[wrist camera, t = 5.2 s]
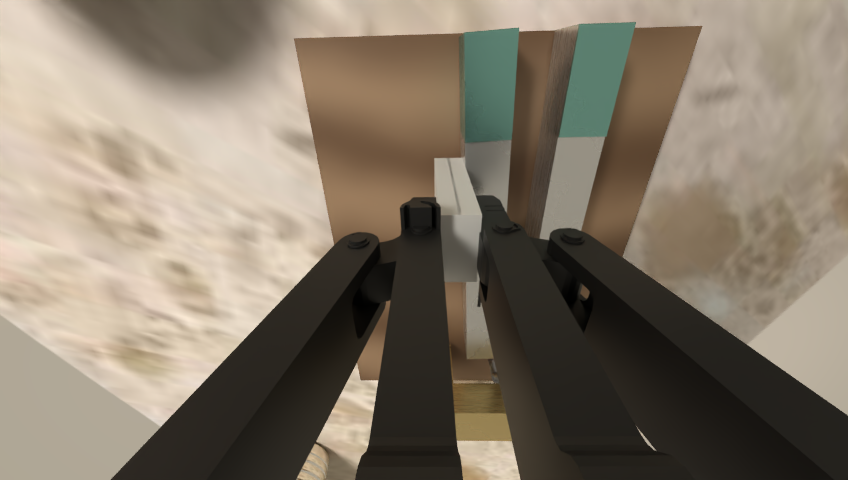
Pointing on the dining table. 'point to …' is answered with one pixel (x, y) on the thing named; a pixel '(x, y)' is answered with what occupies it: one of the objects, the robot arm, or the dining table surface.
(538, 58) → the board
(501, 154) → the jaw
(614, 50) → the tongs fixed
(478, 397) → the collar
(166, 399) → the dining table surface
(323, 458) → the water bottle
